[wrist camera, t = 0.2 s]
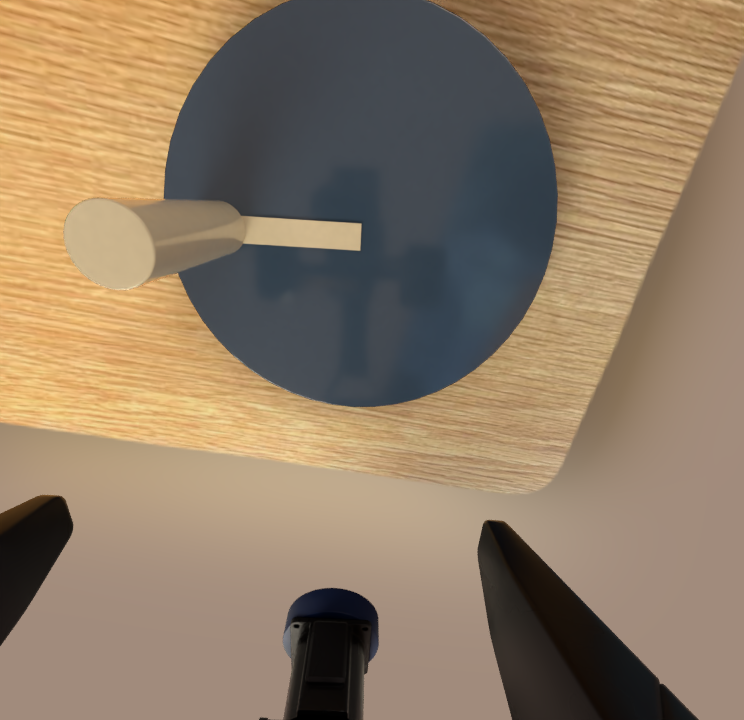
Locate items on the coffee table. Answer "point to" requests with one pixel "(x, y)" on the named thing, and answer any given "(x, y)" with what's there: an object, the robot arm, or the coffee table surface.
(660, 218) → the coffee table surface
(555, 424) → the coffee table surface
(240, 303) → the grey disc with peg
